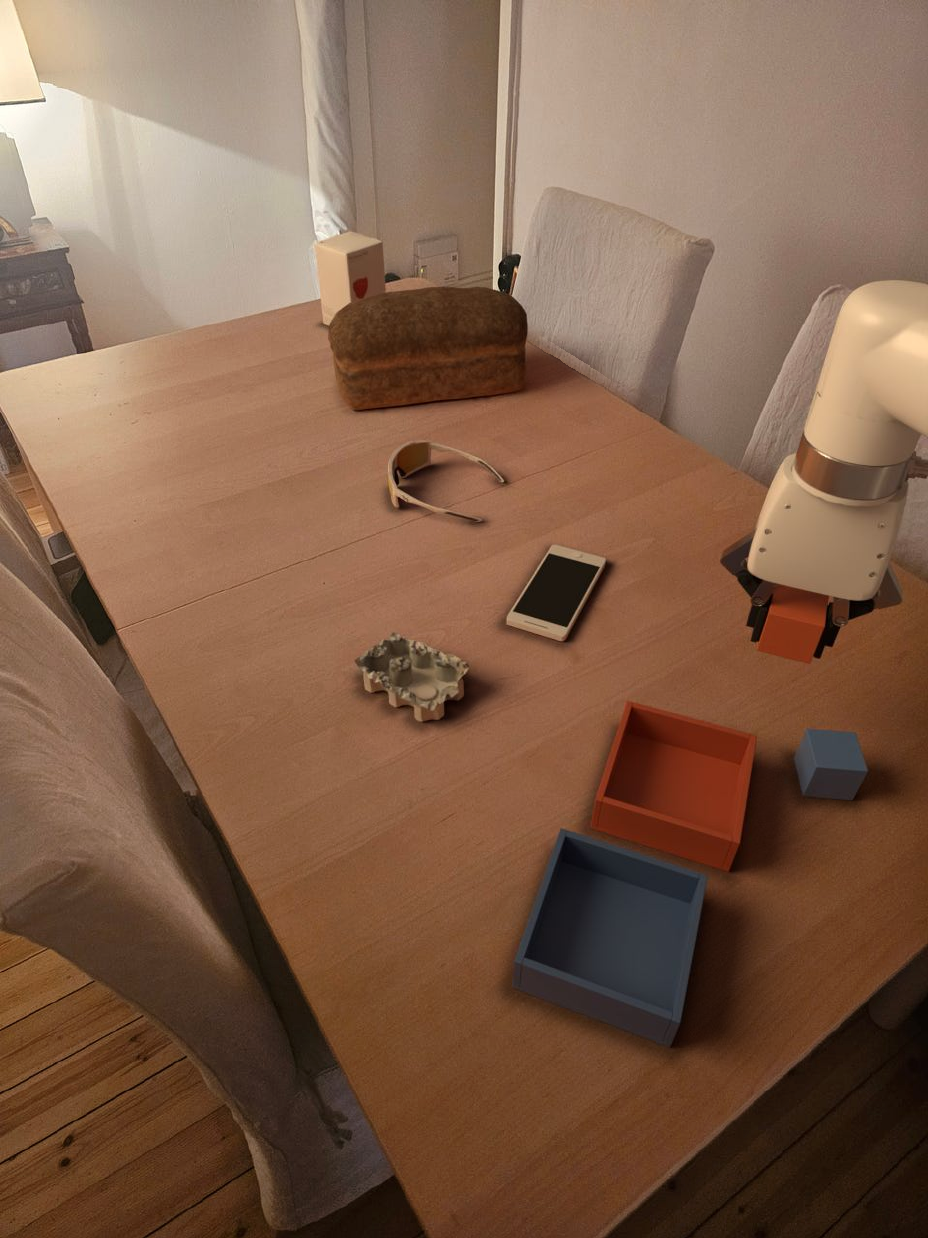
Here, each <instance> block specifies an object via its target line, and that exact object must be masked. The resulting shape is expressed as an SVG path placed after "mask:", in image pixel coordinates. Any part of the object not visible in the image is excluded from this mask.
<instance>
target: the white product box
mask: <svg viewBox="0 0 928 1238" xmlns="http://www.w3.org/2000/svg"><path fill="white" fill-rule="evenodd" d="M383 242H384V241H382V240H380V239H377V238H374V237H371V236H366V235H364V234H361V233H359V232H356V231H353V230H350V231H347V232H344V233H340V234H338V235H333V236H330V237H328V238H325V239H321V240H318V241H315V242H314V253H315V262H316V268H317V270H316V271H317V279H318V286H319V295H320V304H321V305H320V306H321V313H322V322H323V325H326V326H328V327H329V324H330V323H331V321H332V319H333V318H334V316H335V315H336V313H337V312H338V311H339V310H341V309H342V308H343V307H345V306H346V305H347V304H349V303H352V302H355V301H358V300H362V299H365V298H368V297H371V296H375V295H378V294H382V293H387V290H386V273H385V260H384V258H385V257H384V245H383V244H384V243H383Z"/></svg>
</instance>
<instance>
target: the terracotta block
mask: <svg viewBox="0 0 928 1238" xmlns="http://www.w3.org/2000/svg"><path fill="white" fill-rule="evenodd" d="M829 598H830V596H829V595H824V594H820V593H816V592H811V591H807V590H803V589H798V588H794V587H790V586H786V585H782V584H779V585H778V586H777V587H776V589H775V590H774V592H773V594H772V598H771V603H770V608H769V612H768V615H767V618H766V622H765V625H764V628H763V631H762V634H761V637H760V640H759V642H758V643H757V647H756V651H757V652H761V653H764V654H769V655H773V656H776V657H779V658H784V659H788V660H792V661H796V662H800V663H803V664H808V665H811V663H812V660H813V658H814V653H815V651H816V648H817V646H818V643H819V641H820V638H821V635H822V633H823V630H824V628H825V623H826V615H827V607H828V605H829Z"/></svg>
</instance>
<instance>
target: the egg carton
mask: <svg viewBox="0 0 928 1238" xmlns="http://www.w3.org/2000/svg"><path fill="white" fill-rule="evenodd" d="M354 663H355V664H356V666H357V667H358V668H359V669H360V670H361V671H362V672H363V676H362V678H363V686H364V689H365V690H366V691H367V692H369V693H371V694H373V693H375V692H380V691H385V692H387V693H388V704H389V705H391V706H392V707H394V708H399V707H401V706H410V707H413V716H414V719H415V720H416V721H418V722H421V723H423V722H426V721H429V720H430V721H431V720H437V721H438V720H441V718H444V717H445V716H444V715H445V702H446V701H451V700H453V701H457V702H458V701H460V700H461V699H462V698H463V697H464V696H465V689H464V685H465V684H464V680H463V678H462V677H464V675H466V673H467V672H468V670H469V669H470V665H469V663H468V662H466V661H464V660H463V659H462V658H461V657H458V656H456V655H455V654H452V653H449V652H447V653H446V654H445V653H443V652H442V651H441V650H440V649H438V648H437V649H435V648H433V647H430V646H429V645H427V644H426V643H424V642H422V641H418V640H416V639H415V640H413V639H410V638H403V636H402V635H401V634H400V633H398V632H394V631H393V632H392V633H391V634H390V636H389V637H388V638H387V639H385V638H382V639H381V641H380V642H379V643H378V644H375V645H373V646H372V647H371V648H370V649H367V650H366V651H365V652H364V654H363V655H362V656H359V657H357V658H355V659H354Z"/></svg>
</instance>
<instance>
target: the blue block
mask: <svg viewBox="0 0 928 1238" xmlns="http://www.w3.org/2000/svg"><path fill="white" fill-rule="evenodd" d="M858 738H859V737H858V734H857V732H855V731H842V730H829V729H819V728H818V729H817V728H806V729H805V731H804V734H803V736H802V737H801V741H800V742H799V745H798V748H797V750H796V752H795V755H794V757H793V760H794V764H795V769H796V773H797V777H798V781H799V786H800V791H801V795H802V797H805V798H815V799H816V798H817V799H827V800H828V799H829V800H841V801H853V800H854V799H855V796H856V794H857V793H858V791H859V789H860V787H861V785H862V783H863V782H864V780H865V778H866V776H867V774H868V772H869V769H868V767H867V764H866V760H865V757H864V754H863V751H862V747H861V744H860V741H859V739H858Z"/></svg>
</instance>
